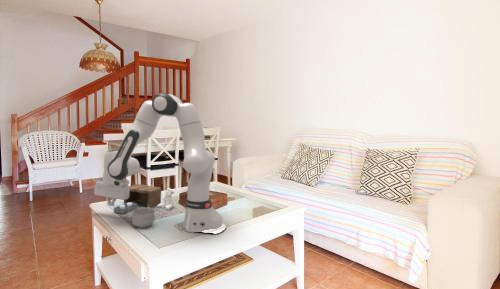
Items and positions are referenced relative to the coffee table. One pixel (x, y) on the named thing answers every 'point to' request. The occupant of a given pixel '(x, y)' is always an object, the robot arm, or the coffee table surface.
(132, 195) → the wooden plank crate
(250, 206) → the coffee table surface
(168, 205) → the seated beast figurine
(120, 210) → the tray
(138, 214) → the teacup
